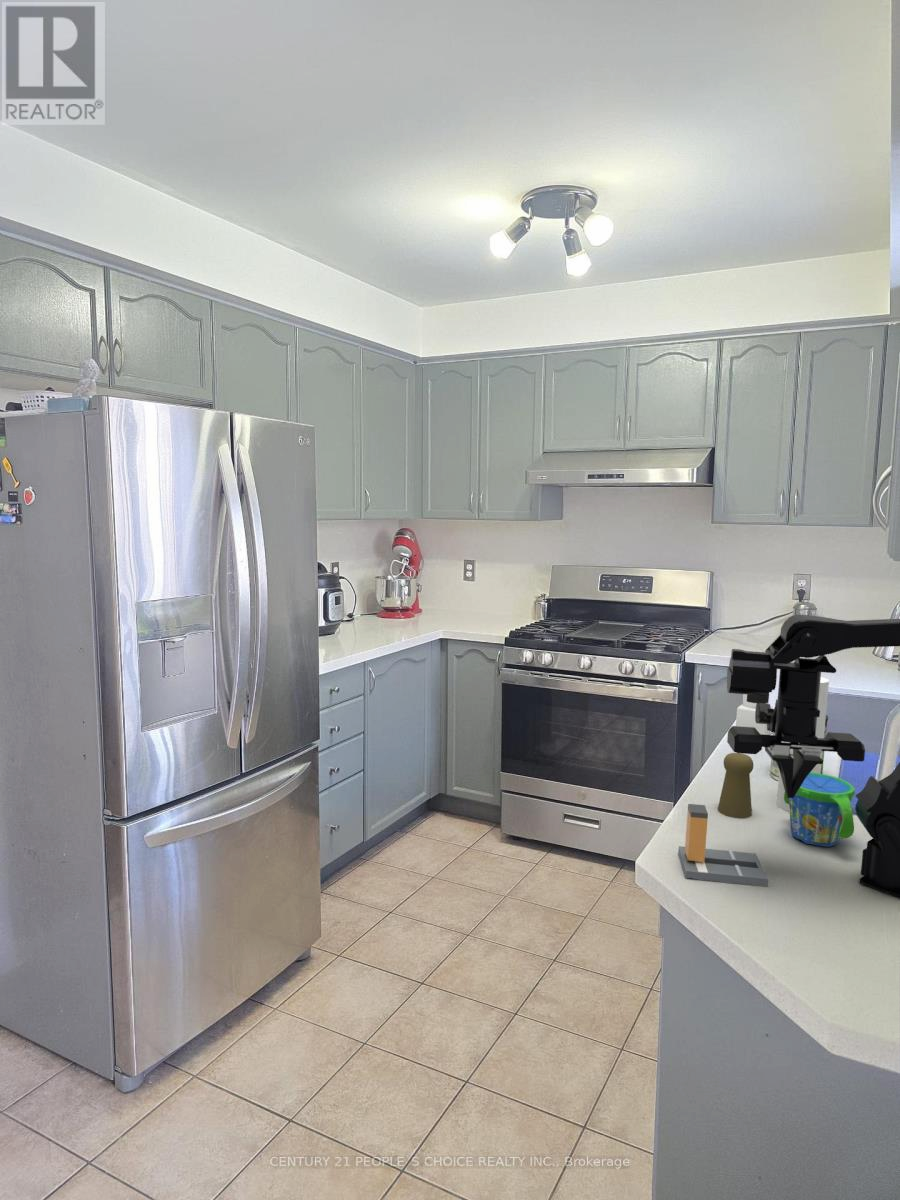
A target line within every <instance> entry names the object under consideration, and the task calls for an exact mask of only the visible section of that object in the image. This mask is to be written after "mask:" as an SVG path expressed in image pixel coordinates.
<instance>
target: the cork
mask: <svg viewBox="0 0 900 1200" xmlns="http://www.w3.org/2000/svg"><path fill="white" fill-rule="evenodd" d="M754 766H755V765H754V761H753V759H752V757H751V756H749V754H744V753H736V752H731V753H728V754H726V755H725V756H724V759H723V767H724V770H725V774H724V779H723V783H722V787H721V788H722V789H721V793H720V797H719V802H718V805H717V812H719V813H720V814H721V815H724V816H726V817H730V818H734V819H747V817H748V818H751V817H752V815H753V810H752V808H753V807H752V796H751V795H752V794H751V793H752V792H751V776H750V775H751V773H752V771H753V769H754ZM750 816H751V817H750Z"/></svg>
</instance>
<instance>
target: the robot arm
mask: <svg viewBox="0 0 900 1200" xmlns="http://www.w3.org/2000/svg"><path fill="white" fill-rule="evenodd" d="M882 647H883V648H885V647H891V648H892V647H900V618H885V619H883V618H882V619H862V620H861V619H859V620H858V619H857V620H854V619H853V620H845V619H844V620H843V619H837V618H832V617H825V616H817V615H809V614H795V615H792V616H789V617H788V618H787V619H786V620H785V621H784V622H783V623H782V626H781V628H780V634H779V635H778V636H777V637H776V639H774V640H773V642H772V643H770V645H769V646H768V647H767V648H766V649H765V651H764V652H763V651H749V650H744V649H740V648H732V649H731V654H730V655H731V656H730V658H729V664H728V666H727V668H726V669H727V671H726V673H727V674H726V690H727V693H728V694H739V695H743V694H748V695H761V696H767V694H768V692H769V693H772V691H775V690H776V687H777V678H778V677H779V678H778V690H777V691H778V692H777V699H775V704H774V708H773V709H771V707H770V706H771V704H770V703H768V704H765V703H757V704H756V711H755V721H756V723H758V724H767V730H768V731H771V733H772V734H769V735H763V734H760V733H759V732H758V731H757V730H756V729H755V727H740V726H736V725H732V726H731V727H730V728H729V729H728V731H727V738H726V739H727V741H726V743H727V744H728V746H729V748H731V749H732V752H733V753H741V754H745V755H757V754H758V753H760V752H761V751H762V750H763V748H764V751H765V752H766V753H767V756H769V758H770V760H771V759H772V760H774V761H776V763H777V765H778V768H779V771H780V774H781V778H782V782H783V785H784V789H785V793H786V796H787V797H788V798H794V796H795V795H796V793H797V791H798V790H799V788H800V786H801V785H802V783H803V782H804V780H805V778H806V777H807V776H808V774H809V773H810V772H811V771H812V770H813V768H814V767H815V766H816V765H817V764H823V765H824V761H823V760H822V759H821V758H820V754H821V752H822V751H824V752H832V753H836V754H837V756H838V757H839V758H840V759H841V760H842V761H849V762H860V763H861V762H864V761H865V756H866V748H865V745H864V743H862V741H860V739H858V738H857V737H856V736H854V735H853V734H852V733H848V732H847V733H845V732H830V731H828V732H826V738H825V739H824V738H818V737H816V725H817V717H819V716H820V710H819V709H818V702H819V691H820V679H821V677H822V673H827V674H828V673H829V674H836V673H837V668H836V667H835V666H834V665H832V664H831V662H830V661H829V660H828V657H827V655H831V654H835V653H837V652H841V651H844V650H849V649H853V648H855V649H856V648H857V649H858V648H882ZM815 657H816V658H815ZM778 670H779V676H778ZM773 733H775V735H773ZM781 741H783V742H790V743H782V742H781ZM790 749H793V758H792V757H791V756H790ZM855 797H856V799H857V801H856V803H855V808H854V809H855V813H856V816H857V818H858V819H859V821H860V822H861V824H862V826H863V827H864V828H865V831H866V832H867V834H869V836H870V837H871V839H869V840H867V842H866V848H864V849H863V850H862V856H861V864H860V865H861V867H860V875H861V876H862V877H860V878H859V879H858V883H859V884H862V885H863V886H867V887H870V888H873V889H875V890H878V891H881V892H883V893H886V894H889V895H892V896H894V897H897V898H898V899H899V898H900V761H899V762H898V764H897V765H896V766H895V768H894V769H893V771H892V772H891V773H890V774H889V775H887V776H886V777H884V778H882V779H880V780H878V779H877V778H875V777H874V776H871V775H870V777H868V780H867V781H866V783H865V785H864V788H863V789H861V791H860V792H858V793H857V794H856V793H855Z"/></svg>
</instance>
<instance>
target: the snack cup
mask: <svg viewBox="0 0 900 1200" xmlns="http://www.w3.org/2000/svg"><path fill="white" fill-rule="evenodd" d="M855 795H856V789H855V788H854V786H853V785H852V784H851V783H850V782H848V781H846V780H844V779H842V778H839V777H836V776H832V775H830V774H826V773H825V774H824V773H822V774H819V773H811V772H810V773H809V774H808V776H807V777H806V778H805V780H804V782H803V783H802V785H801V786H800V788H799V790H798V791H797V793H796V795H795V796H794V798H788V797H787V796H786V793H784V801H785V802H786V803H787V804H789V807H790V812H789V821H790V832H791V835H792V836H794V838H796V839H797V840H799V841H800V840H801V841H802V842H803V843H804V844H806V845H813V846H816V847H831V846H835V845H836V844H838V843H839V840H840V838H841V839H848V838H850V837H851V836H853V835H854V832H855V823H854V815H853V806H852V803H851V801H852V800H853V798H854V796H855Z"/></svg>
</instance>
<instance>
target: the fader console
mask: <svg viewBox="0 0 900 1200" xmlns="http://www.w3.org/2000/svg"><path fill="white" fill-rule="evenodd" d="M677 851H678V852H677V853H678V857H679V860H680V865H681V867H682V868H681V869H682V871H683V875H684V878H685V879H686V878H693V879H692V880H696V879H701V880H700V881H706V880H710V881H709V882H716V881H718V882H719V881H720V882H719V883H726V882H728V884H738V885H747V886H748V885H749V886H758V887H769V883H770V882H769V881H770V879H769V877H768V874H767V873H766V871H765V869H764V867H763V865H762V863H761V861H760V859H759V857H758V855H757V853H756V852H755V853H754V852H744V851H736V850H735V851H734V850H732V849H727V850H723V849H714V848H713V849H712V848H705V861H704V862H700V861H695V862H690V860H688V859H687V856H686V853H685V846H683V845H682V846H681V845H679V846H678V850H677ZM718 882H717V883H718Z"/></svg>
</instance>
